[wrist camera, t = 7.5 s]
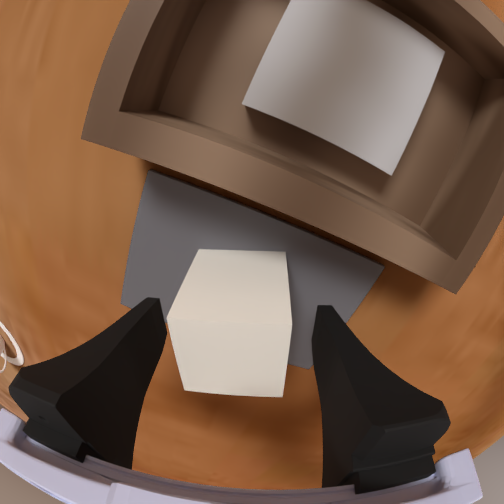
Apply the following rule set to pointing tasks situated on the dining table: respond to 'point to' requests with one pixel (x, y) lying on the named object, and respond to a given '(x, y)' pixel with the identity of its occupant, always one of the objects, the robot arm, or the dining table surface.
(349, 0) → the walnut box
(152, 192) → the charcoal mat
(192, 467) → the dining table surface
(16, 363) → the teacup and saucer
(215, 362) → the cream block
